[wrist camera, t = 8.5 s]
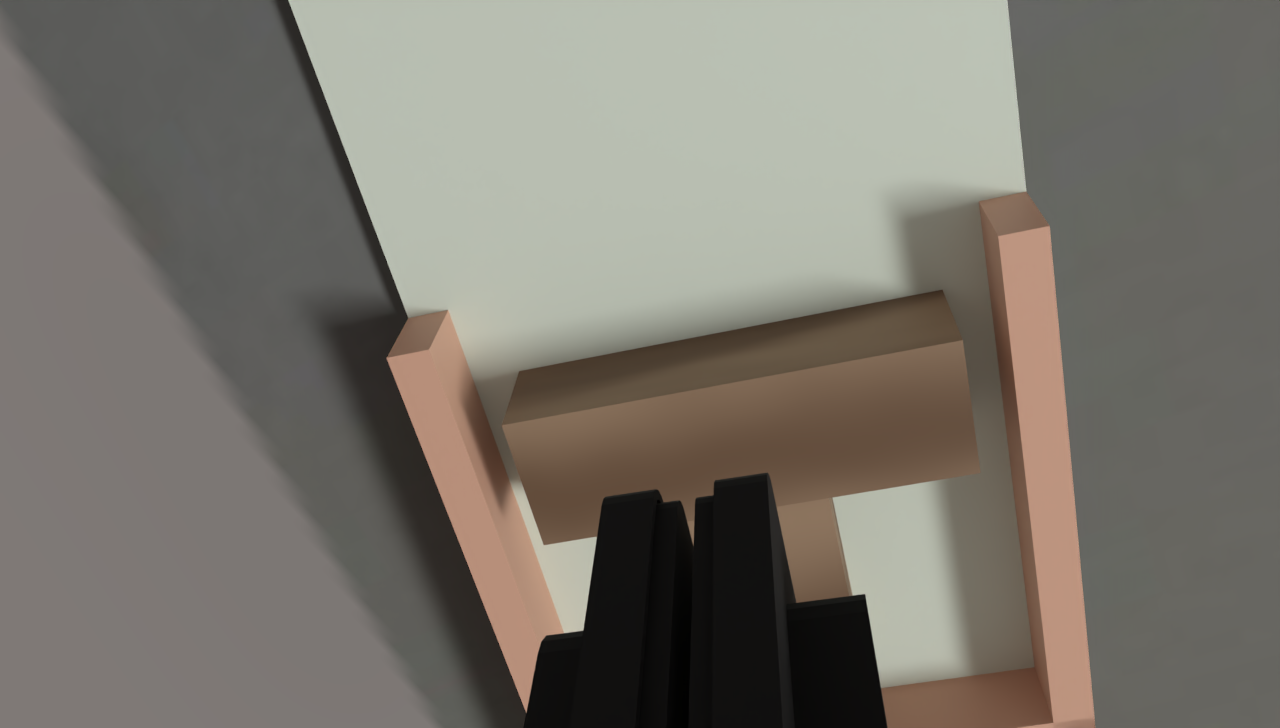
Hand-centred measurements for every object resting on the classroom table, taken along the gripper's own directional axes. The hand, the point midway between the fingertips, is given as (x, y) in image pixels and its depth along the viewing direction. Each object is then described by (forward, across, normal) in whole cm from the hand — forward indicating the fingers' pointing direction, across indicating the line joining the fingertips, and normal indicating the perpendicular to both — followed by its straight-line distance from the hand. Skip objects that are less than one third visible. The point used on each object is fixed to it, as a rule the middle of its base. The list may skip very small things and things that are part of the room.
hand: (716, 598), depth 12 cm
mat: (+20, +1, +9) cm, 22 cm away
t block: (+19, +1, +13) cm, 23 cm away
